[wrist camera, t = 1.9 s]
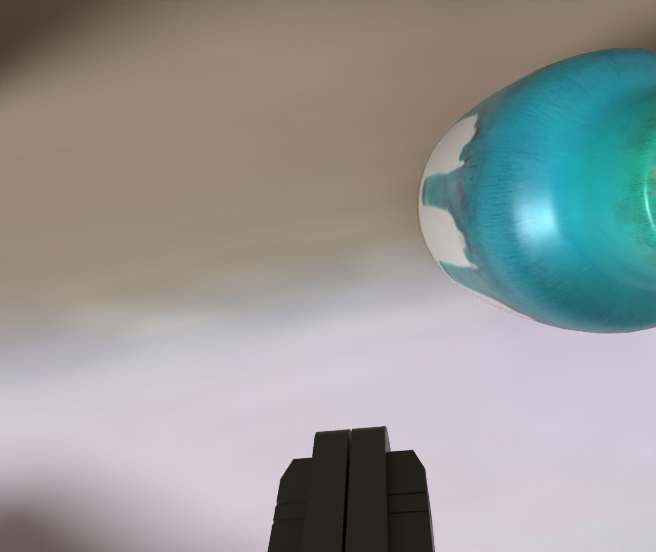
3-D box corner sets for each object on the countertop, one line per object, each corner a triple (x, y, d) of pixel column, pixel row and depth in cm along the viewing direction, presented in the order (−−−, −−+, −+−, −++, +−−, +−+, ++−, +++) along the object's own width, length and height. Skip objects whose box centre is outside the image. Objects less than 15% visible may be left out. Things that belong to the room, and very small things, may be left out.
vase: (538, 82, 34) (863, -103, 15) (604, 251, 35) (986, 285, 16) (369, 157, 33) (475, 69, 14) (441, 325, 34) (628, 450, 15)
